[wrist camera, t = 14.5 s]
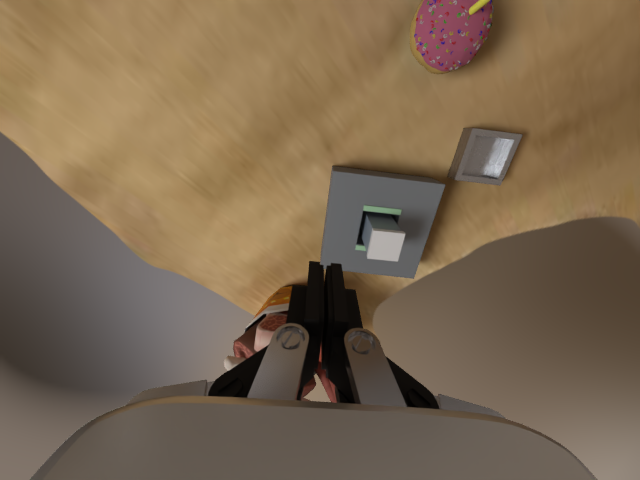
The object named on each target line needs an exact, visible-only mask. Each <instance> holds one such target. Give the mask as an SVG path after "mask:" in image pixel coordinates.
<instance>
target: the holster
mask: <svg viewBox="0 0 640 480" xmlns="http://www.w3.org/2000/svg"><path fill="white" fill-rule="evenodd" d="M522 135H523V134H515V133H507V132H499V131H491V130H483V129H476V128H464V129H463V132H462V135H461V138H460V141H459V144H458V147H457V150H456V153H455V156H454V159H453V162H452V165H451V167H450V170H449V173H448V176H447V177H449V178H451V179H454V180H460V181H468V182H476V183H485V184H493V185H501V183H502V181H503V179H504V176H505V174H506V172H507V169H508V167H509V165H510V163H511V160H512V158H513V156H514V153H515V151H516V149H517V147H518V144H519V142H520V140H521V137H522Z"/></svg>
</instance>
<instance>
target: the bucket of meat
mask: <svg viewBox="0 0 640 480" xmlns="http://www.w3.org/2000/svg"><path fill="white" fill-rule="evenodd" d="M291 290H292V286H289V287H283V288H280V289H279V290H278V291H276V292H275V293H274V294H273V295H272V296H271V297H269V298H268V300H267V301H266V302H265V304H264V305H263V306H262V308H261V309H260V310H259V312H258V313H257V314H256V316H255V317H254V319H253V320H252V321H251V322H250V324H248V326H247V327H246V329H245V333H244V334H243V335H242V336H241V337H239V338H238V339H237V340H235V341H234V347H233V350H234V354H235V357H233V356H228V357H227V358H226V359H225V360H224V366H225V368H226V369H227V370H228V371H229V370H230V369H232V368H233V367H235V366H237V365H238V364H240V363H241V362H243V361H244V360H246V359H247V358H249V357H250V356H252V355H253V354H255V353H257V352H258V351H260V350H261V349H263V348H264V347H266V346H267V345H269V343H270V340H271V338H272V336H273V333H274V332H275V330H276V329H277V328H278V327H280V326H282V325H284V324H286V319H287V313H288V307H289V302H290V296H291ZM316 373H317V375H318V377H319V378H320V380H321V382H322V384H323V386H324V388H325V390H326V392H327V394H328V397H329V398H330V401H331V402H333V403H337V401H336V395H335V385H334V384H333V383H332V382H331V381H330V380H329V379H328V378H326V370H323V369H321V348H320V356H319V363H318V369H314V375H315V374H316ZM314 375H313V378H312V379H311V380H310V381H309V382H308V383H307V384H306V385H305V386H304V392H303V396H302V401H310V400H308V399H305V398H303V397H304V396H306V395H307V394H308V393H309V392H310V391H311V390H313V389H314V387H315V386H316V382H315V378H314Z"/></svg>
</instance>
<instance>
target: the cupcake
mask: <svg viewBox="0 0 640 480" xmlns="http://www.w3.org/2000/svg"><path fill="white" fill-rule="evenodd" d="M492 5H493V4H492V0H422V1H421V2H420V4H419V6H418V9H417V11H416V13H415V16H414V18H413V20H412V23H411V26H410V48H411V51H412V54H413V56H414V57H415V58H416V60H417V61H418V62H419V63H420V64H421V65H422V66H424V67H425V68H426V69H427V70H428V71H429V72H430V73H434V74H444V73H447V72H450V71H452V70H455V69H457V68H459V67H462V66H463V65H465V64H467V63H469V62H470V61H471V60H472V58H473V57H474V56H475V55H476V53H477V52H478V50H479V49H480V47H481V46H482V45H483V43H484V42H485V41H486V40H487V38H488V37H487V36H488V33H489V30H490V27H491V25H492V14H493V13H492V12H494V10H493V9H494V6H492ZM492 10H493V11H492Z"/></svg>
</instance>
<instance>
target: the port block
mask: <svg viewBox="0 0 640 480" xmlns="http://www.w3.org/2000/svg"><path fill="white" fill-rule="evenodd" d="M444 188H445V184H443V183H441V182H439V181H437V180H435V179H433V178H428V177H420V176H412V175H403V174H395V173H387V172H379V171H370V170H362V169H354V168H346V167H337V166H332V172H331V180H330V188H329V195H328V203H327V211H326V218H325V226H324V234H323V241H322V249H321V261H320V265H324V269H326V266H327V265H331V263H339V264H342V271H349V272H359V273H368V274H377V275H386V276H395V277H404V278H413V279H414V277H415V274H416V271H417V268H418V265H419V262H420V259H421V256H422V253H423V250H424V247H425V244H426V241H427V238H428V235H429V232H430V229H431V226H432V223H433V220H434V217H435V214H436V211H437V208H438V205H439V202H440V199H441V196H442V193H443V190H444ZM363 211H369V212H378V213H386V214H390V215H391V217H392V218H393V219H394V221H395V222H396V223H397V225H398V226H399V228H400V229H401V230H402V231H404V232H405V237H404V241H403V245H402V248H401V252H400V255H399V259H398V262H396V261H386V260H377V259H367V252H366V249H365V246H364V243H363V240H362V237H361V234H360V226H361V220H362V215H363Z"/></svg>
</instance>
